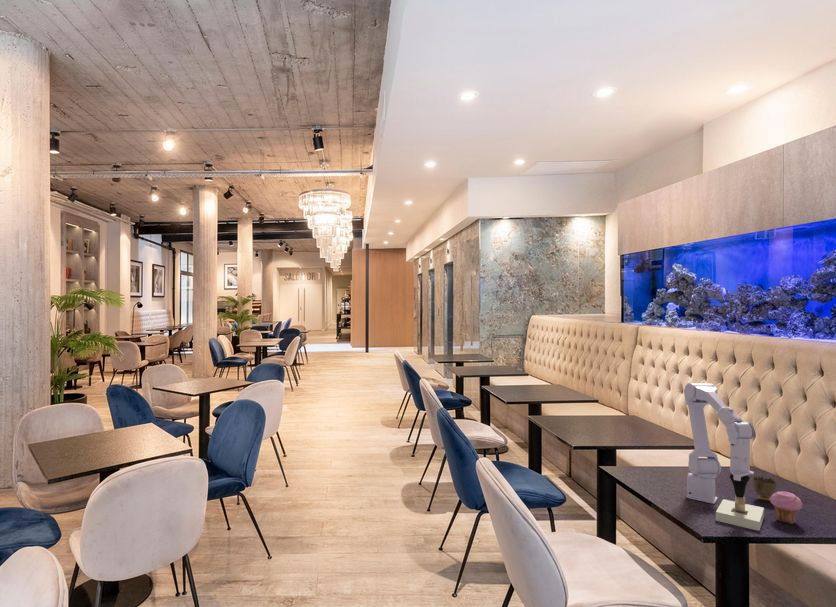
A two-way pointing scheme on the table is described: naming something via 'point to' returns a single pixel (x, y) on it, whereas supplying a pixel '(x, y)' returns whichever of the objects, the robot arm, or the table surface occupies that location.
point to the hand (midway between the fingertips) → (739, 496)
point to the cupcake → (786, 506)
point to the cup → (764, 487)
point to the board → (740, 515)
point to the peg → (740, 505)
